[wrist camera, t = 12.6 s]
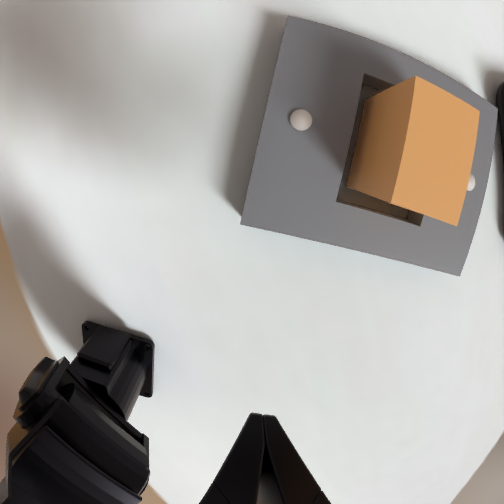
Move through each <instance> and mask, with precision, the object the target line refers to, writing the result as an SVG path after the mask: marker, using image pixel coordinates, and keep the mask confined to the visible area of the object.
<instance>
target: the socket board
mask: <svg viewBox="0 0 504 504" xmlns="http://www.w3.org/2000/svg"><path fill="white" fill-rule="evenodd" d="M414 76H418V77H420V78H422V79H424V80H426V81H428V82H430V83H432V84H434V85H436V86H438V87H440V88H441V89H443V90H445V91H447V92H449V93H450V94H452V95H454V96H456V97H457V98H459V99H461V100H463V101H464V102H466V103H468V104H469V105H471V106H472V107H474V108H476V109H477V110H479V111H480V114H479V123H478V131H477V138H476V145H475V151H474V157H473V162H472V168H471V173H470V177H469V182H468V187H467V191H466V195H465V199H464V203H463V207H462V211H461V214H460V218H459V222H458V225H457V226H454V225H451V224H449V223H446V222H443V221H441V220H438V219H435V218H432V217H429V216H427V215H424V214H421V213H418V212H415V211H412V210H409V214H408V217H407V220H406V219H402V218H399V217H396V216H393V215H389V214H386V213H383V212H379V211H376V210H373V209H369V208H366V207H362V206H359V205H355V204H352V203H348V202H344V201H341V200H337V195H338V191H339V187H340V183H341V179H342V175H343V171H344V167H345V163H346V158H347V154H348V150H349V145H350V141H351V136H352V132H353V127H354V122H355V117H356V113H357V108H358V103H359V97H360V92H361V87H362V84H365V85H368V86H370V87H373V88H376V89H378V90H381V91H384V90H386V89H388V88H390V87H392V86H394V85H396V84H399V83H401V82H403V81H405V80H407V79H409V78H412V77H414ZM497 114H498V108H496V107H495V106H494V105H492V104H491V103H489V102H488V101H486V100H485V99H484V98H482V97H481V96H479V95H478V94H476V93H474V92H473V91H471V90H470V89H468V88H467V87H465V86H463V85H462V84H460V83H458V82H457V81H455V80H453V79H452V78H450V77H448V76H446V75H445V74H443V73H441V72H439V71H437V70H436V69H434V68H432V67H430V66H428V65H426V64H424V63H422V62H420V61H418V60H416V59H414V58H412V57H410V56H407V55H405V54H403V53H401V52H399V51H396V50H394V49H392V48H389V47H387V46H385V45H382V44H380V43H377V42H375V41H372V40H369V39H367V38H364V37H361V36H358V35H356V34H353V33H350V32H347V31H344V30H340V29H337V28H334V27H331V26H327V25H324V24H320V23H317V22H313V21H309V20H305V19H301V18H297V17H292V16H288V17H287V22H286V26H285V30H284V34H283V38H282V42H281V46H280V50H279V54H278V59H277V63H276V67H275V71H274V75H273V80H272V84H271V88H270V92H269V97H268V101H267V105H266V110H265V114H264V118H263V123H262V127H261V132H260V136H259V140H258V145H257V149H256V154H255V158H254V163H253V167H252V172H251V177H250V181H249V186H248V190H247V195H246V200H245V204H244V209H243V214H242V218H241V223H240V224H241V225H246V226H250V227H255V228H259V229H264V230H269V231H273V232H278V233H282V234H287V235H291V236H296V237H300V238H305V239H309V240H313V241H318V242H322V243H327V244H331V245H335V246H339V247H344V248H348V249H352V250H356V251H361V252H365V253H369V254H373V255H377V256H381V257H385V258H389V259H393V260H398V261H402V262H406V263H410V264H414V265H417V266H421V267H425V268H429V269H433V270H437V271H441V272H445V273H449V274H452V275H456V276H460V274H461V271H462V269H463V266H464V263H465V260H466V258H467V255H468V252H469V249H470V246H471V243H472V239H473V236H474V233H475V229H476V226H477V223H478V219H479V215H480V212H481V208H482V204H483V200H484V195H485V191H486V187H487V182H488V177H489V172H490V167H491V161H492V155H493V148H494V141H495V133H496V125H497Z"/></svg>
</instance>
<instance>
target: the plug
mask: <svg viewBox="0 0 504 504" xmlns="http://www.w3.org/2000/svg"><path fill="white" fill-rule="evenodd" d="M479 114H480V111H479V110H477V109H476V108H474V107H472V106H471V105H469V104H468V103H466V102H464V101H463V100H461V99H459V98H457V97H456V96H454V95H452V94H450V93H449V92H447V91H445V90H443V89H441V88H440V87H438V86H436V85H434V84H432V83H430V82H428V81H426V80H424V79H422V78H420V77H418V76H414V77H412V78H409V79H407V80H405V81H403V82H401V83H399V84H396V85H394V86H392V87H390V88H388V89H386V90H384V91H382V92H380V93H378V94H376V95H374V96H372V97H370V98H368V99H366V100H365V103H364V108H363V113H362V118H361V123H360V128H359V133H358V137H357V142H356V146H355V151H354V155H353V160H352V164H351V168H350V172H349V176H348V181H347V185H346V187H348V188H351V189H354V190H357V191H359V192H362V193H365V194H367V195H370V196H373V197H375V198H378V199H380V200H383V201H385V202H388V203H390V204H394V205H397V206H400V207H403V208H406V209H409V210H412V211H415V212H418V213H421V214H424V215H427V216H429V217H432V218H435V219H438V220H441V221H443V222H446V223H449V224H451V225H454V226H457V225H458V222H459V218H460V214H461V211H462V207H463V203H464V199H465V195H466V191H467V187H468V182H469V177H470V173H471V168H472V162H473V157H474V151H475V145H476V138H477V131H478V123H479Z"/></svg>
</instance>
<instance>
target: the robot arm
mask: <svg viewBox="0 0 504 504" xmlns="http://www.w3.org/2000/svg"><path fill="white" fill-rule="evenodd" d="M87 326H88V327H89V328H88V327H87ZM82 333H83V343H84V345H83V347H82V348H81V349H80V350H79V352H78V353H77V356H76V357H75V359H74V360H73V361H72V362H71V364H69V363H70V362H69V361H68V360H67V359H66V358H65V356H64V357H63V358H61V359H60V360H58V361H55V360H52V359H50V358H48V357H44V358H43V359H42V360H41V361H40V362H39V363H38V364H37V366H36V367H35V368H34V369H33V370H32V372H31V373H30V374H29V376H28V377H27V379H26V380H25V382H24V384H23V386H22V388H21V389H20V391H19V401H18V404H17V407H16V409H15V412H14V415H13V418H14V419H15V420H16V421H17V422H16V424H15V425H14V426H13V427H12V429H11V430H10V431H9V433H8V434H7V443H6V468H5V472H6V473H5V477H4V479H3V480H2V481H1V483H0V504H138V503H139V502H140V501H141V500H142V497H141V496H140V495H141V494H142V493H143V491H144V490H145V488H146V486H147V484H148V481H149V476H150V470H149V438H148V437H147V436H146V435H144V434H141V433H140V432H139V431H138V430H137V429H135V428H134V427H133V426H132V425H131V424H130V423H128V422H127V421H128V418H129V416H130V414H131V412H132V409H133V407H134V405H135V403H136V400H137V398H138V396H139V395H141V396H144V397H148V398H149V397H151V396H152V394H153V372H154V347H155V346H154V343H153V342H152V341H151V340H149V339H145V338H142V337H138V336H135V335H131V334H128V333H125V332H121V331H118V330H115V329H112V328H108V327H105V326H102V325H99V324H96V323H93V322H90V321H85V322H84V323H83V324H82ZM146 345H149V346H150V347H148V346H146ZM199 504H331V503H330V501H329V500H328V498H327V497H326V496H325V494H324V492H323V491H321V488H320V487H319V485H318V484H317V482H316V481H315V479H314V477H313V476H312V474H311V473H310V471H309V470H308V468H307V467H306V465H305V464H304V462H303V460H302V459H301V457H300V456H299V454H298V452H297V451H296V449H295V448H294V446H293V444H292V443H291V441H290V439H289V438H288V436H287V435H286V433H285V431H284V430H283V428H282V426H281V425H280V423H279V421H278V420H277V418H276V417H275V416H273V415H262V414H258V413H250V415H249V417H248V418H247V420H246V422H245V424H244V426H243V428H242V430H241V432H240V434H239V436H238V438H237V439H236V441H235V443H234V445H233V447H232V449H231V451H230V452H229V454H228V456H227V458H226V460H225V461H224V463H223V465H222V467H221V469H220V470H219V472H218V474H217V476H216V477H215V479H214V481H213V483H212V484H211V486H210V487H209V489H208V491H207V492H206V494H205V495H204V497H203V498H202V500H201V501H200V503H199Z"/></svg>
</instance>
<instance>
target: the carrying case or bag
mask: <svg viewBox="0 0 504 504" xmlns="http://www.w3.org/2000/svg"><path fill="white" fill-rule="evenodd" d="M496 105H497V108H498V118H499V125H500V132H501V140H502V149H503V159H504V82H503V83H502V84H501V85H500V86H499V88H498V92H497V96H496Z"/></svg>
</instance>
